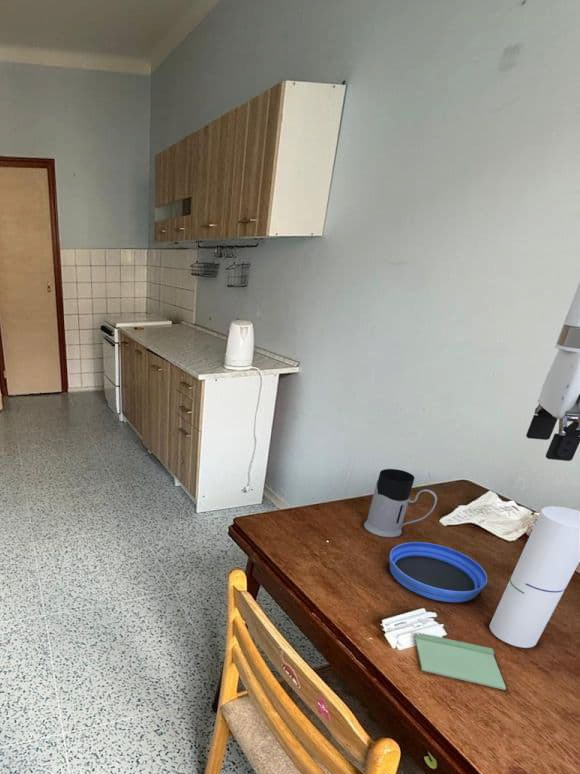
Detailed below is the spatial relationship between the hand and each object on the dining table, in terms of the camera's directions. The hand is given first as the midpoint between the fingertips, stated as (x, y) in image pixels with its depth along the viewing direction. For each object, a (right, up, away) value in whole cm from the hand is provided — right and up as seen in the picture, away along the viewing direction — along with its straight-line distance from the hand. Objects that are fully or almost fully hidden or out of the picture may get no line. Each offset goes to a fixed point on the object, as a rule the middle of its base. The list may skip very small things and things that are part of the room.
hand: (547, 448), depth 77 cm
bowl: (-2, -25, +26) cm, 36 cm away
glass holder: (-2, -16, +42) cm, 45 cm away
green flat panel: (-11, -36, +5) cm, 39 cm away
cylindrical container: (+3, -33, +11) cm, 35 cm away
